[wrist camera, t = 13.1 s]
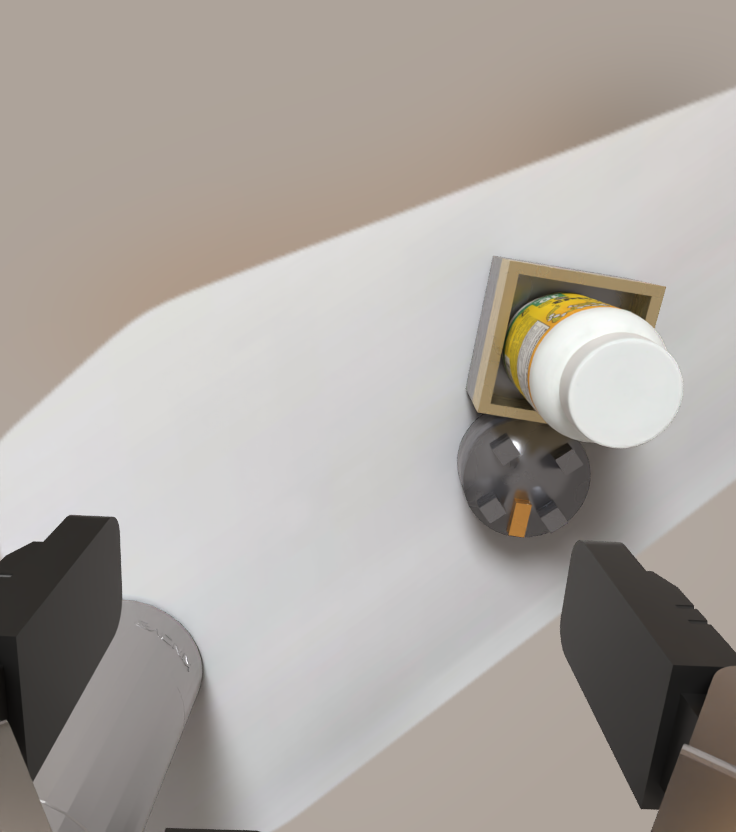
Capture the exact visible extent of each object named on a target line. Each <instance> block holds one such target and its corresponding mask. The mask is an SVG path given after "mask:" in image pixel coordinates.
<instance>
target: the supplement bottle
mask: <svg viewBox="0 0 736 832" xmlns="http://www.w3.org/2000/svg"><path fill="white" fill-rule="evenodd" d="M502 358H503V364H504V367H505V370H506V372H507V375H508V376H509V378H510V380H511V381H512V383H513V384H514V385H515V387H516V388H517V389H518V390H519V392H520V393H521V394H522V395H523V396H524V397H525V398H526V400H527V401H528V402H529V403H530V404H531V406H532V407H533V408H534V409H535V410H536V411H537V413H538V414H539V415H540V416H541V417H542V418H543V420H544V421H545V422H547V423H548V424H549V425H550V426H551V427H552V428H553V429H555V430H556V431H557V432H559V433H561V434H562V435H564V436H567V437H569V438H571V439H575V440H578V441H583V442H593V443H597V444H599V445H602V446H605V447H610V448H619V449H620V448H630V447H635V446H639V445H641V444H644V443H646V442H648V441H650V440H652V439H654V438H655V437H657V436H658V435H659V434H661V433H662V432H663V431H664V430H665V429H666V428H667V427H668V426H669V425H670V423H671V422H672V421H673V419H674V418H675V416H676V414H677V412H678V410H679V407H680V405H681V401H682V397H683V379H682V374H681V371H680V368H679V366H678V364H677V363H676V361H675V360H674V358H673V357H672V355H671V354H669V353H668V351H667V349H666V346H665V344H664V342H663V340H662V338H661V337H660V335H659V334H658V333H657V331H656V330H655V329H654V328H653V327H652V326H651V325H650V324H649V323H648V322H647V321H645V320H644V319H642V318H641V317H639V316H637V315H635V314H633V313H632V312H630V311H627V310H624V309H620V308H617V307H615V306H611V305H609V304H606V303H603V302H601V301H598V300H595V299H592V298H589V297H586V296H584V295H580V294H576V293H571V292H556V293H551V294H548V295H544V296H542V297H539V298H536V299H534V300H532V301H530V302H529V303H527V304H526V305H524V306H523V307H522V308H521V309H520V310H519V311H518V312H517V313H516V314H515V315H514V316H513V318H512V319H511V321H510V323H509V324H508V326H507V330H506V335H505V339H504V344H503V348H502Z"/></svg>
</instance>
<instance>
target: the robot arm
mask: <svg viewBox="0 0 736 832" xmlns="http://www.w3.org/2000/svg"><path fill="white" fill-rule="evenodd" d="M560 635H561V643H562V648H563V651H564V654H565V657H566V659H567V661H568V663H569V665H570V667H571V669H572V671H573V673H574V675H575V677H576V679H577V681H578V683H579V685H580V687H581V689H582V691H583V693H584V695H585V697H586V699H587V701H588V703H589V705H590V707H591V709H592V711H593V713H594V715H595V717H596V719H597V722H598V724H599V725H600V727H601V729H602V732H603V734H604V735H605V738H606V740H607V742H608V744H609V746H610V748H611V750H612V751H613V754H614V756H615V758H616V760H617V762H618V764H619V766H620V768H621V770H622V772H623V774H624V776H625V778H626V780H627V782H628V784H629V786H630V788H631V790H632V792H633V794H634V796H635V798H636V800H637V802H638V804H639V806H640V808H641V809H657V810H659V811H658V813H657V816H656V819H655V822H654V824H653V827H652V830H651V832H736V652H735V651H734V650H733V649H732V648H731V647H730V645H729V644H728V643H727V642H726V641H725V640H724V639H723V638H722V636H721V635H720V634H719V633H718V632H717V631H716V630H715V629H714V628H713V626H712V625H709V624H707V620H706V619H705V618H704V616H703V615H702V614H701V613H700V612H699V611H698V610H697V609H694V605H693V604H692V603H691V602H690V601H689V600H688V598H687V597H686V596H685V595H684V594H683V593H682V592H681V591H680V589H678V587H676V586H675V585H673V584H671V583H670V582H668V581H667V580H665V579H663V578H662V577H660V576H659V575H657V574H655V573H654V572H652V571H646V570H645V569H644V568H643V567H642V565H641V564H640V563H639V562H638V561H637V559H636V558H635V557H634V556H633V555H632V554H631V552H630V551H629V550H628V549H627V548H626V546H625V545H624V544H622V543H619V542H599V541H577V542H576V544H575V545H574V547H573V550H572V554H571V560H570V566H569V572H568V578H567V584H566V590H565V596H564V602H563V608H562V614H561V622H560ZM202 674H203V673H202V662H201V657H200V654H199V651H198V648H197V646H196V644H195V642H194V641H193V639H192V637H191V636H190V634H189V633H188V632H187V631H186V629H185V628H184V627H183V626H182V625H181V624H180V623H179V622H178V621H177V620H175V619H174V618H173V617H171V616H170V615H169V614H167V613H166V612H164V611H162V610H160V609H158V608H156V607H154V606H151V605H148V604H145V603H141V602H137V601H131V600H122V578H121V552H120V530H119V524H118V521H117V519H116V518H115V517H103V516H82V515H69V516H68V517H66V518H65V519H64V520H63V522H62V523H61V524H60V525H59V526H58V527H57V528H56V529H55V530H54V531H53V532H52V533H51V534H50V535H49V536H48V537H47V539H46V540H45V541H44V542H32V543H30V544H28V545H26V546H24V547H22V548H20V549H18V550H16V551H14V552H12V553H10V554H8V555H6V556H5V557H4V558H3V559H2V560H1V561H0V832H143V830H144V828H145V825H146V823H147V820H148V818H149V815H150V813H151V810H152V808H153V805H154V803H155V800H156V798H157V795H158V792H159V790H160V787H161V785H162V782H163V780H164V777H165V775H166V772H167V770H168V767H169V765H170V762H171V760H172V757H173V755H174V752H175V750H176V747H177V744H178V742H179V740H180V737H181V735H182V732H183V730H184V727H185V725H186V722H187V720H188V717H189V714H190V712H191V709H192V707H193V704H194V702H195V699H196V697H197V694H198V691H199V689H200V686H201V680H202ZM165 832H259V831H250V830H214V829H179V828H166V829H165Z"/></svg>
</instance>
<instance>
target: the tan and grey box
mask: <svg viewBox="0 0 736 832" xmlns="http://www.w3.org/2000/svg"><path fill="white" fill-rule="evenodd" d="M665 289H666V287H665V286H660V285H656V284H651V283H647V282H642V281H638V280H633V279H628V278H623V277H617V276H611V275H605V274H599V273H593V272H587V271H581V270H575V269H569V268H563V267H557V266H551V265H545V264H539V263H533V262H527V261H521V260H516V259H510V258H504V257H498V256H493V259H492V263H491V268H490V273H489V278H488V283H487V287H486V292H485V297H484V302H483V307H482V312H481V316H480V321H479V326H478V331H477V336H476V341H475V345H474V350H473V355H472V360H471V365H470V369H469V374H468V379H467V384H466V390H467V392H468V394H469V396H470V398H471V400H472V402H473V404H474V406H475V408H476V410H477V412H478V413H485V414H483V415H482V416H480V417H479V418H478V419H477V420H476V421H475V422H474V423H473V424H472V425H471V426H470V427H469V428H468V430H467V431H466V433H465V435H464V436H463V438H462V441H461V443H460V446H459V450H458V456H457V467H458V473H459V476H460V480H461V483H462V486H463V490H464V493H465V496H466V500H467V502H468V504H469V506H470V508H471V510H472V511H473V513H474V514H475V515H476V516H477V518H478V519H479V520H480V521H481V522H483V523H484V524H485V525H486V526H488V527H489V528H491V529H493V530H495V531H497V532H499V533H502V534H505V535H509V536H514V537H532V536H538V535H542V534H546V533H548V532H550V533H552V532H554V531H556V530H557V529H559V528H560V527H562V526H564V525H565V524H567V523H568V522H567V521H568V520H569V519H571V518H572V517H573V516H574V515H575V513H576V512H577V511H578V510H579V508H580V507H581V505H582V504H583V502H584V500H585V498H586V495H587V492H588V489H589V484H590V465H589V461H588V458H587V455H586V452H585V450H584V449H583V447H582V445H581V444H580V443H579V441H578V440H575V439H571V438H569V437H567V436H564V435H562V434H561V433H559V432H557V431H556V430H555V429H553V428H552V427H551V426H550V425H549V424H548V423H547V422H545V421H544V420H543V418H542V417H541V416H540V415H539V414H538V413H537V411H536V410H535V409H534V408H533V407H532V406H531V404H530V403H529V402H528V401H527V400H526V398H525V397H524V396H523V395H522V394H521V393H520V392H519V390H518V389H517V388H516V387H515V385H514V384H513V383H512V381H511V380H510V378H509V376H508V375H507V372H506V370H505V367H504V364H503V358H502V348H503V344H504V339H505V335H506V330H507V326H508V324H509V323H510V321H511V319H512V318H513V316H514V315H515V314H516V313H517V312H518V311H519V310H520V309H521V308H522V307H523V306H524V305H526V304H527V303H529V302H530V301H532V300H534V299H536V298H539V297H542V296H544V295H548V294H551V293H556V292H571V293H576V294H580V295H584V296H586V297H589V298H592V299H595V300H598V301H601V302H603V303H606V304H609V305H611V306H615V307H617V308H620V309H624V310H627V311H630V312H632V313H633V314H635V315H637V316H639V317H641V318H642V319H644V320H645V321H647V322H648V323H649V324H650V325H651V326H652V327H653V328H655V325H656V321H657V318H658V314H659V310H660V307H661V303H662V300H663V296H664V293H665Z"/></svg>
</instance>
